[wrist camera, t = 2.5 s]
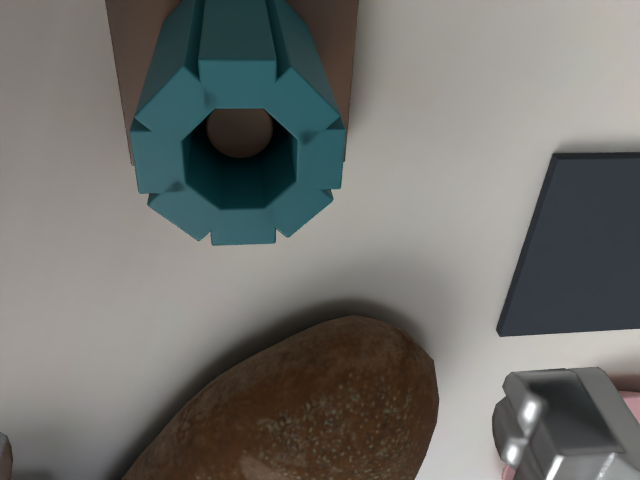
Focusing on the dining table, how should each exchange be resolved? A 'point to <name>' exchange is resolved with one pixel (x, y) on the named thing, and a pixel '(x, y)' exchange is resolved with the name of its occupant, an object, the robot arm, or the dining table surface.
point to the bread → (307, 412)
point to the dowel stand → (232, 124)
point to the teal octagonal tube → (237, 93)
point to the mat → (580, 250)
